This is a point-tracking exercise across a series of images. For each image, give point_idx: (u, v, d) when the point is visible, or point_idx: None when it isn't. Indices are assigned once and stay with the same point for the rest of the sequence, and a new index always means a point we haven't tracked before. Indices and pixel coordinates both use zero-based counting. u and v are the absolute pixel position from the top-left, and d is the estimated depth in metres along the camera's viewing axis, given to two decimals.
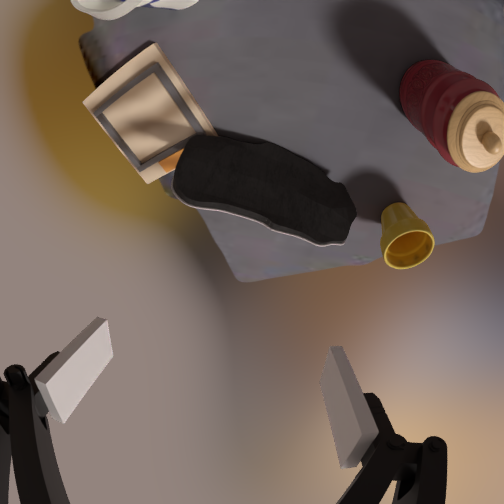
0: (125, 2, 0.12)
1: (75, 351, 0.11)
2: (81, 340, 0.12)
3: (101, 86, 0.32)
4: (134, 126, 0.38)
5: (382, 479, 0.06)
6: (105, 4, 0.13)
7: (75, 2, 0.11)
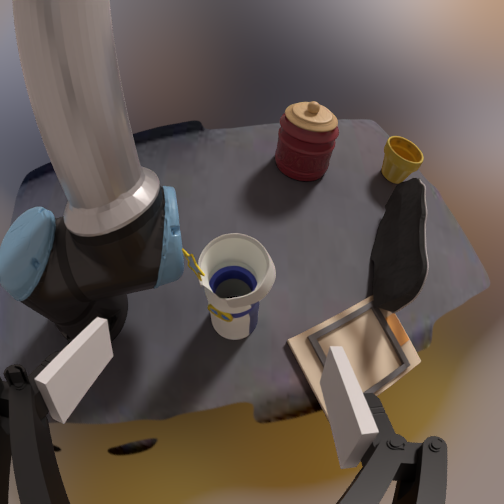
0: (266, 251, 0.29)
1: (75, 351, 0.11)
2: (81, 340, 0.12)
3: (321, 398, 0.38)
4: (366, 367, 0.40)
5: (382, 479, 0.06)
6: (257, 285, 0.30)
7: (246, 294, 0.27)
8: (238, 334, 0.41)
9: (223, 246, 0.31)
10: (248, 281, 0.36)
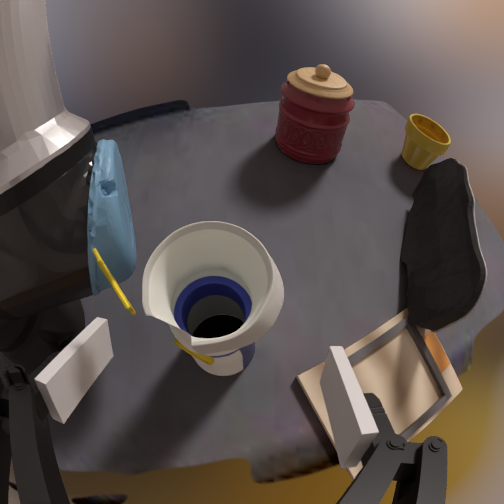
0: (267, 252, 0.16)
1: (75, 352, 0.11)
2: (81, 340, 0.12)
3: None
4: (400, 405, 0.27)
5: (382, 479, 0.06)
6: (251, 314, 0.16)
7: (230, 336, 0.14)
8: (228, 371, 0.28)
9: (192, 244, 0.18)
10: (238, 300, 0.23)
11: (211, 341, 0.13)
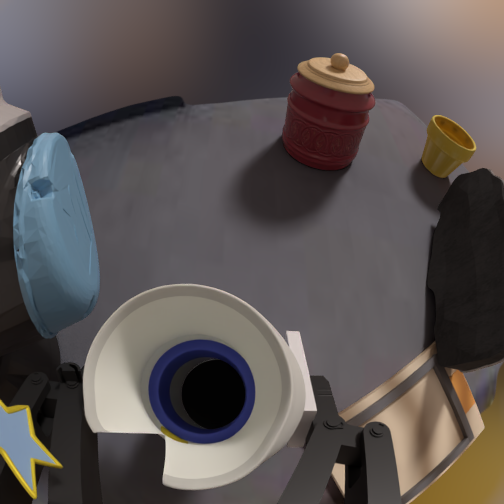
0: (282, 344, 0.09)
1: None
2: None
3: None
4: (421, 453, 0.20)
5: (326, 459, 0.07)
6: (253, 426, 0.09)
7: (220, 479, 0.07)
8: None
9: (161, 315, 0.11)
10: (237, 370, 0.15)
11: (191, 485, 0.06)
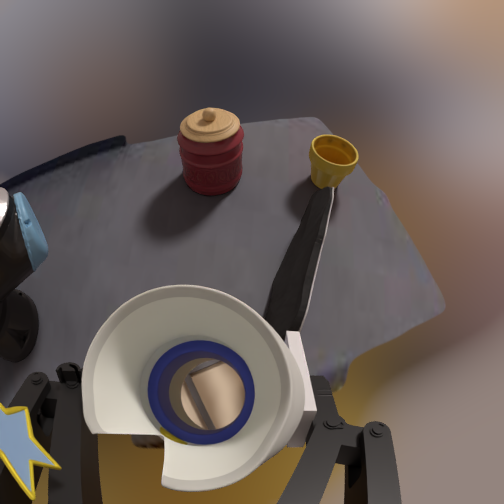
0: (281, 345, 0.09)
1: None
2: None
3: None
4: None
5: (326, 459, 0.07)
6: (253, 428, 0.09)
7: (219, 481, 0.07)
8: None
9: (160, 316, 0.11)
10: (236, 371, 0.15)
11: (190, 486, 0.06)
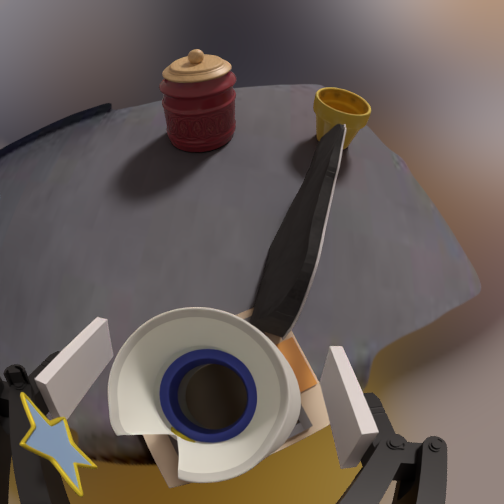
0: (281, 360, 0.10)
1: (75, 351, 0.11)
2: (81, 340, 0.12)
3: (152, 450, 0.22)
4: (229, 420, 0.25)
5: (382, 479, 0.06)
6: (255, 428, 0.11)
7: (228, 473, 0.08)
8: None
9: (175, 331, 0.12)
10: (240, 376, 0.17)
11: (203, 478, 0.08)
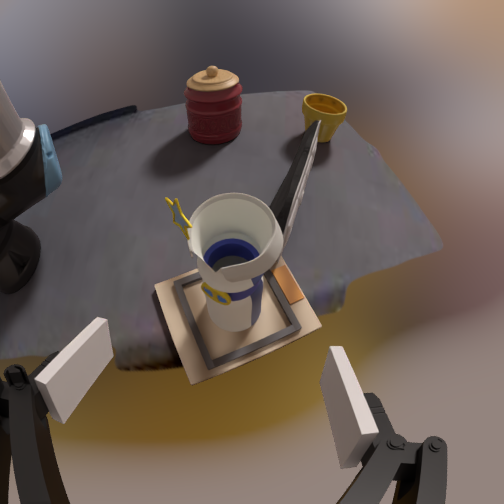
0: None
1: (75, 351, 0.11)
2: (81, 340, 0.12)
3: (179, 351, 0.36)
4: None
5: (382, 479, 0.06)
6: None
7: (247, 262, 0.22)
8: (239, 324, 0.35)
9: (220, 209, 0.26)
10: (250, 257, 0.30)
11: (235, 265, 0.21)
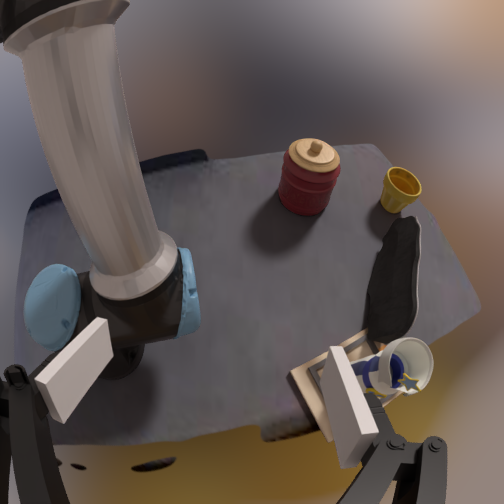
0: None
1: (75, 351, 0.11)
2: (81, 340, 0.12)
3: (319, 420, 0.41)
4: None
5: (382, 478, 0.06)
6: (419, 375, 0.30)
7: (421, 387, 0.27)
8: None
9: (396, 347, 0.31)
10: (393, 362, 0.36)
11: (416, 391, 0.27)
